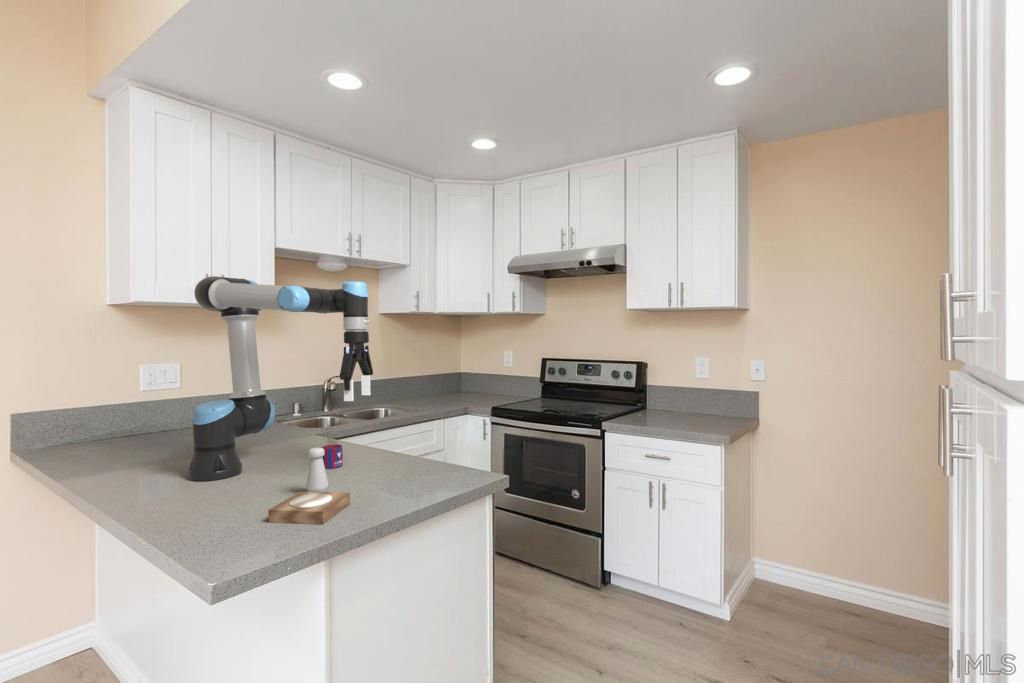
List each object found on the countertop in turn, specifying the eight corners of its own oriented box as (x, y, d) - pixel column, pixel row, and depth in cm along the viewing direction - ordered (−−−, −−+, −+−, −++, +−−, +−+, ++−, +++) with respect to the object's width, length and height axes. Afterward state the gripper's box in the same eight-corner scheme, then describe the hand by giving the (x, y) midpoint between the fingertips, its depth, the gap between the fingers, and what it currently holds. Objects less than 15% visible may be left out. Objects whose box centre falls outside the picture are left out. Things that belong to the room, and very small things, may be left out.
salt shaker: (321, 489, 148) (320, 444, 147) (332, 493, 144) (331, 447, 144) (302, 495, 143) (301, 448, 143) (313, 499, 139) (311, 451, 139)
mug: (332, 470, 169) (331, 449, 169) (310, 467, 173) (309, 446, 173) (346, 465, 175) (346, 445, 175) (325, 462, 179) (324, 442, 179)
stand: (268, 522, 123) (268, 508, 123) (300, 502, 137) (300, 490, 137) (323, 524, 121) (322, 510, 121) (350, 504, 135) (349, 491, 135)
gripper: (351, 330, 149) (353, 403, 149) (381, 330, 173) (383, 392, 174) (326, 331, 149) (328, 403, 150) (360, 330, 174) (361, 393, 175)
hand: (357, 398), depth 162 cm, fingers open, 13 cm apart
